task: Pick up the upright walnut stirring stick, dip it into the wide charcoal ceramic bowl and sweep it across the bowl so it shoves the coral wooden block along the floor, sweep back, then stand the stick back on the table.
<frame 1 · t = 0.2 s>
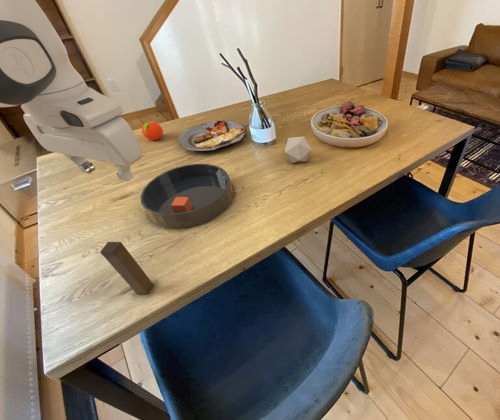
hand: (108, 175, 54), 21 cm above the table, tool pointing down, fingers open, 8 cm apart
stick: (145, 289, 59), on the table
food plate: (214, 139, 108), on the table
bowl 2: (348, 132, 111), on the table
clementine: (155, 140, 107), on the table
die: (298, 160, 96), on the table
bowl: (192, 200, 80), on the table
block: (184, 210, 76), point 1 cm above the table, touching bowl
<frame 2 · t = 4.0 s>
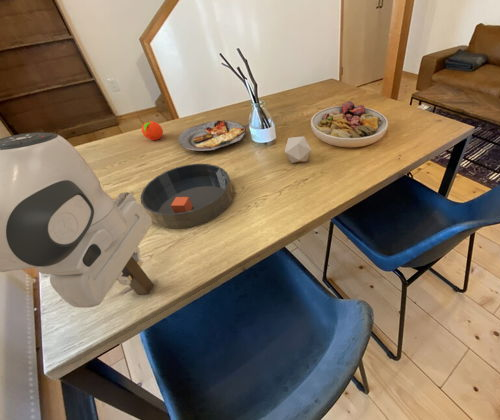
hand: (132, 274, 55), 6 cm above the table, tool pointing down, fingers closed on stick, 2 cm apart
stick: (145, 289, 59), on the table, touching gripper
everything else where it was.
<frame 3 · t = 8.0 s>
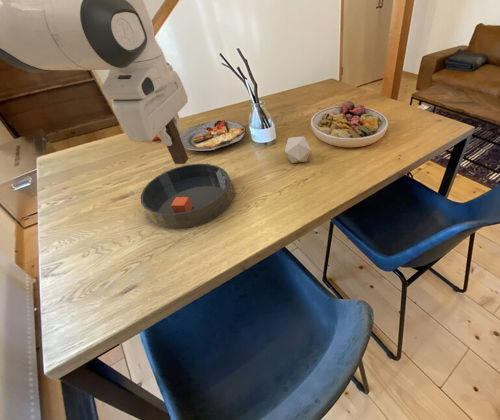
hand: (172, 140, 61), 22 cm above the table, tool pointing down, fingers closed on stick, 2 cm apart
stick: (181, 161, 65), point 17 cm above the table, touching gripper
everything else where it was.
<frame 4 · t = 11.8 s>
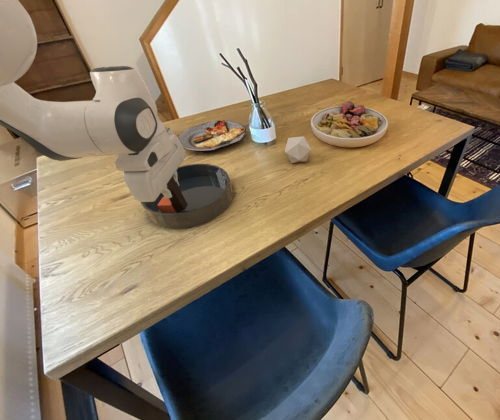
hand: (172, 192, 71), 7 cm above the table, tool pointing down, fingers closed on stick, 2 cm apart
stick: (182, 207, 75), point 2 cm above the table, touching gripper
block: (171, 210, 76), point 1 cm above the table, touching bowl
everything else where it was.
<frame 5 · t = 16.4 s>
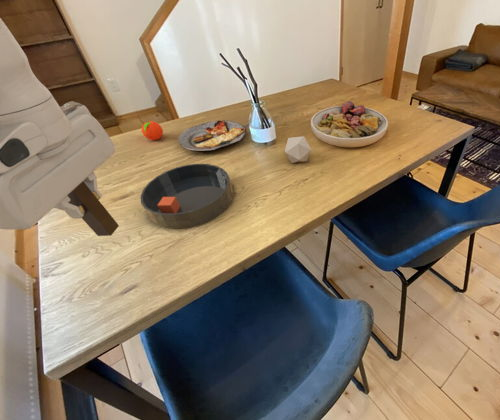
hand: (87, 207, 44), 22 cm above the table, tool pointing down, fingers closed on stick, 2 cm apart
stick: (108, 230, 48), point 17 cm above the table, touching gripper
everything else where it was.
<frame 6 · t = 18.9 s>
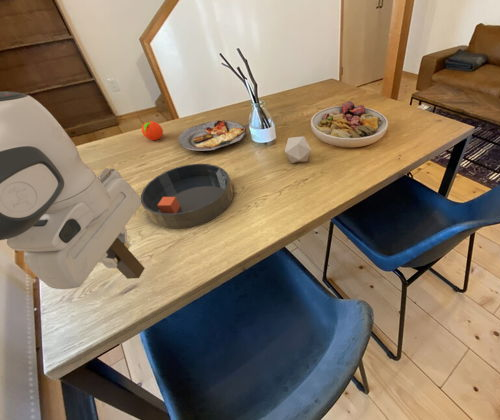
hand: (119, 256, 51), 11 cm above the table, tool pointing down, fingers closed on stick, 2 cm apart
stick: (136, 273, 55), point 6 cm above the table, touching gripper
everything else where it was.
when the fingers open (5 cm above the table, at t = 20.4 s): stick stays where it is, on the table.
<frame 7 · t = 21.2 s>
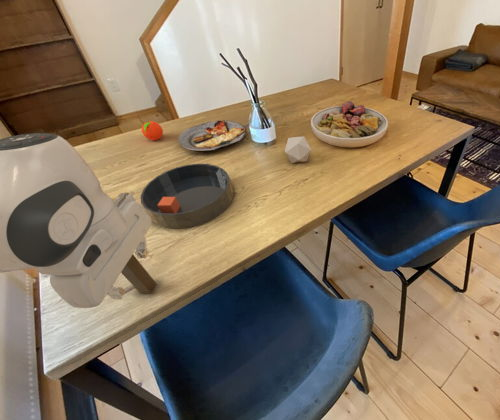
hand: (132, 274, 55), 6 cm above the table, tool pointing down, fingers open, 8 cm apart
stick: (148, 288, 59), on the table
everything else where it was.
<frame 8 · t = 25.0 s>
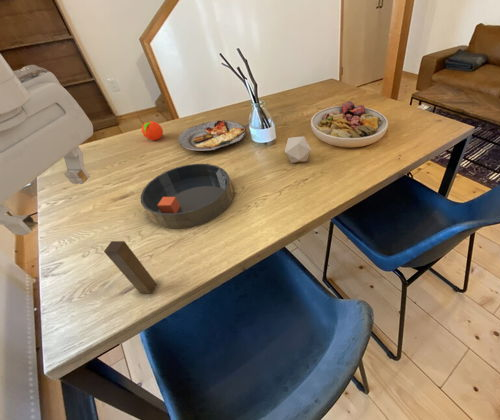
hand: (57, 203, 35), 29 cm above the table, tool pointing down, fingers open, 8 cm apart
nothing on the table moved.
at the end: block moved 3.6 cm from its start; block inside the target area in the bowl (6.5 cm from its centre), point 0.8 cm above the bowl's base; the gripper is holding nothing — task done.
